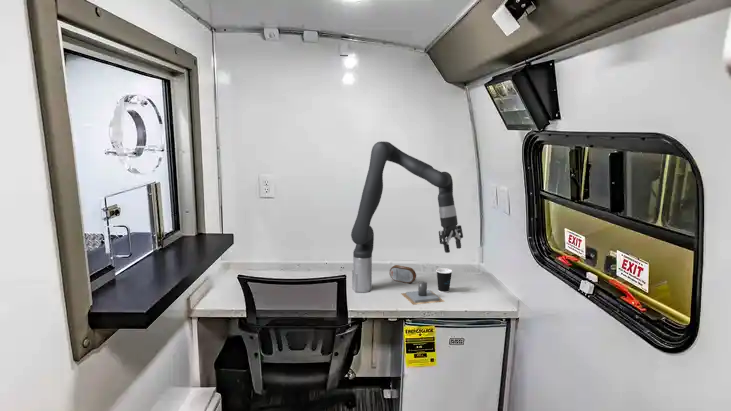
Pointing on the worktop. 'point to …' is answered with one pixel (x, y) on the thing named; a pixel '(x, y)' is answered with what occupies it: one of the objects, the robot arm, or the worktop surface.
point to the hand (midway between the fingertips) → (453, 250)
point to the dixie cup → (444, 279)
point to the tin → (402, 274)
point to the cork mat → (421, 302)
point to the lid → (422, 294)
